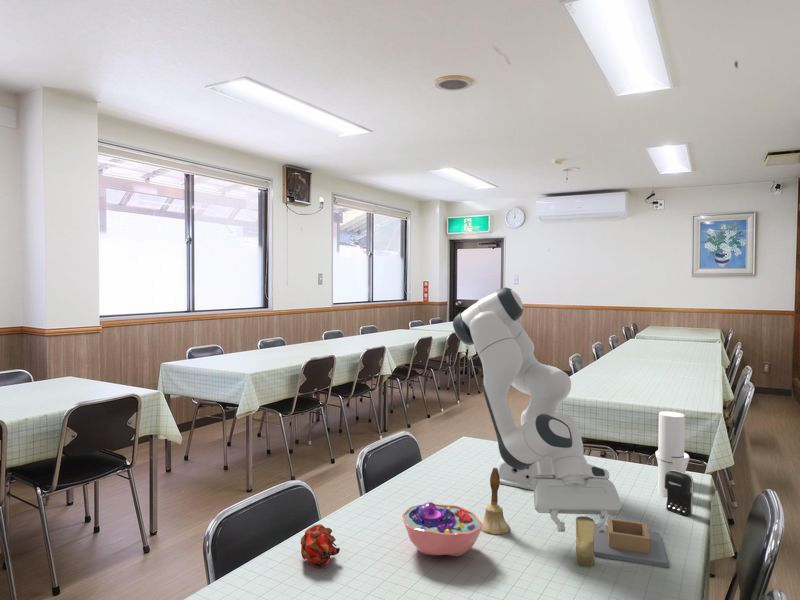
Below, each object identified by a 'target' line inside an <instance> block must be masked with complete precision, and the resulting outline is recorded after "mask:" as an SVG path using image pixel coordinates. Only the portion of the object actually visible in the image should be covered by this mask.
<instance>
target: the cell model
mask: <svg viewBox="0 0 800 600" xmlns="http://www.w3.org/2000/svg"><path fill="white" fill-rule="evenodd" d="M401 517H402V521H403V524H404V527H405V529H406V532H407V535H408V538H409V541H410V542H411V543H412V544H413V546H414V547H415V548H416V549H417V551H419V552H420V553H421V554H424V555H428V556H449V557H450V556H451V557H460V556H462V555H463V554H465V553H466V552H468V551H470V549H471V548H472V547H473V546H474V545H475V544H476V542H477V540H478V538H479V537H480V533H481V531H482V530H481V529H482V523H481V520H480V519H479V517H477V516H476V514H475V513H474V512H472V511H470V510H468V509H466V508H464V507H462V506H460V505H454V504H437V503H434V502H430V501H428V502H425V503H423V504H422V503H421V504H417V505H413V506H411V507H409V508H407V509H406V510H405V511H404V512H403V513H402V515H401Z"/></svg>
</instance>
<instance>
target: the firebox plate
mask: <svg viewBox="0 0 800 600" xmlns="http://www.w3.org/2000/svg"><path fill="white" fill-rule="evenodd" d="M597 525H598V523H594V557H599V558H605V559H611V560H612V559H613V560H619V561H625V562H631V563H637V564H643V565H648V566H649V565H651V566H656V567H663V568H669V563H668V558H667V555H666V552H665V551H666V550H665V548H664V545H663V541H662V538H661V536H660V532H656V531H648V527H647V526H648V525H647V523H646V522H641V521H634V520H628V519H627V520H626V519H618V518H611V517H607V525H606V524H605V526H606V532H605V533H598V529H597Z"/></svg>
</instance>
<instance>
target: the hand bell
mask: <svg viewBox="0 0 800 600" xmlns="http://www.w3.org/2000/svg"><path fill="white" fill-rule="evenodd" d="M491 472H492V473H491ZM491 472H490V478H489V483H490V489H491V497H490V504H488V505H486V507H485V511H484V516H483V518H482V519H481V520H480V522H481V523H482V529H481V531H482V532H483V533H485V534H486V533H487V534H491V535H503V534H507V533H508V532H509V531H510V530H511V527H510V524H508V523H507V521H506V520H505V516H504V509H503V507H502V506H500V505H499V504H498V499H499V498H498V492H499V488H500V485H501V484H500V476H499V473H498V469H497V467H493V468H492V470H491Z"/></svg>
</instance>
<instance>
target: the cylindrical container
mask: <svg viewBox="0 0 800 600" xmlns="http://www.w3.org/2000/svg"><path fill="white" fill-rule="evenodd" d="M685 417H686V416H685V414H684V413H680V412H676V411H665V410H664V411H659V412H658V439H657V440H658V447H657V448H658V449H657V450H658V462H657V467H658V468H657V493H658V495H660V496H662V497H664V498H667V489H665V475H666V473H667V472H669V471H671V470H677V471H680V472H684V453H685V430H686V429H685V427H686V426H685V425H686V424H685V423H686V421H685V419H686V418H685Z"/></svg>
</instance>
